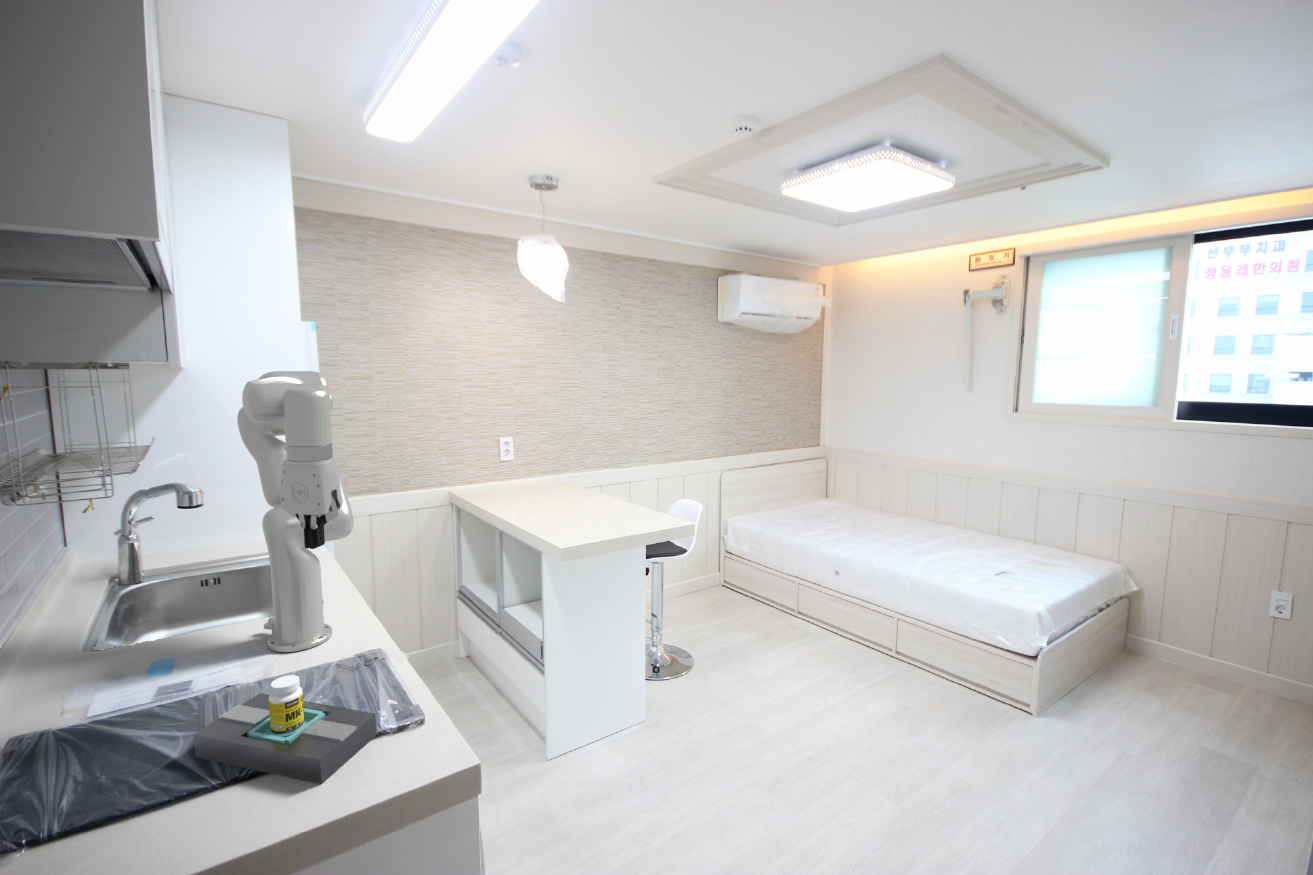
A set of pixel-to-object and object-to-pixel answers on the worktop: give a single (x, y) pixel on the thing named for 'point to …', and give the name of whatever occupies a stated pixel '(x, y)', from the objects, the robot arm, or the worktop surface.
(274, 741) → the tray
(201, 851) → the worktop surface
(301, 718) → the supplement bottle
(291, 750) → the block
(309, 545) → the robot arm
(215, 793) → the worktop surface
